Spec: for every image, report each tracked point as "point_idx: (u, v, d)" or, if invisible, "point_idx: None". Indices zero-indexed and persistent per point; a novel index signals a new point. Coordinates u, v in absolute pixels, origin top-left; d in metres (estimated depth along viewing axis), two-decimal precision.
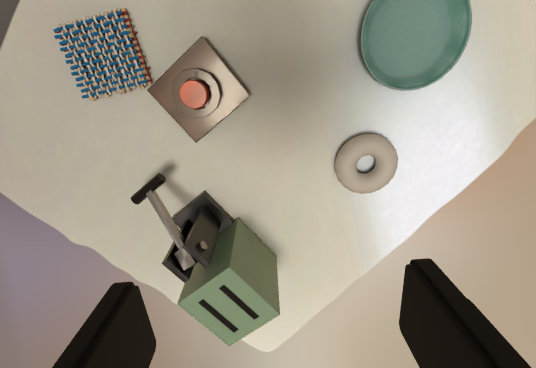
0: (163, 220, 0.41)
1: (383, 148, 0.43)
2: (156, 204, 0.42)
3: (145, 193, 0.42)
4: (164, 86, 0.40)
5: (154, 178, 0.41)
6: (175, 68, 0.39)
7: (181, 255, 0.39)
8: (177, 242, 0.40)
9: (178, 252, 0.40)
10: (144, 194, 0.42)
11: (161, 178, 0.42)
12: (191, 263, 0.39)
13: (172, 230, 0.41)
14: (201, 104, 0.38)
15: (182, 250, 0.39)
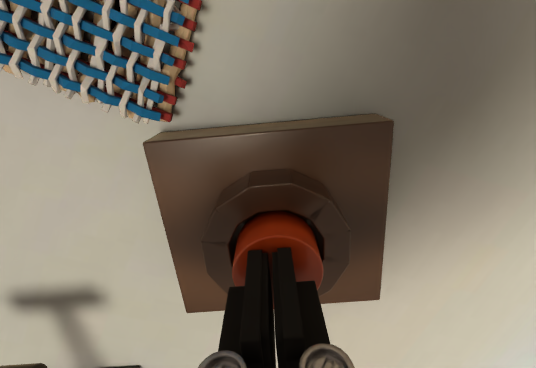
0: None
1: None
2: None
3: None
4: (199, 164, 0.13)
5: None
6: (263, 145, 0.12)
7: None
8: None
9: None
10: None
11: None
12: None
13: None
14: None
15: None
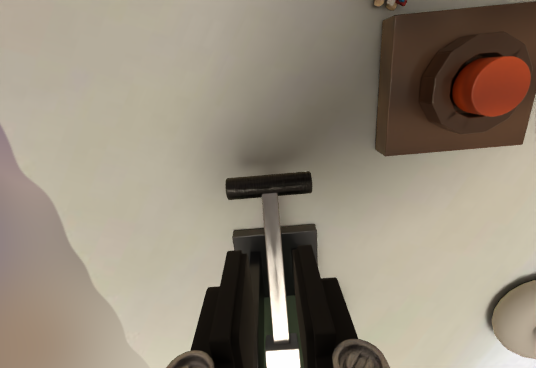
0: (271, 266, 0.19)
1: None
2: (274, 226, 0.19)
3: (262, 192, 0.20)
4: (427, 31, 0.19)
5: (300, 177, 0.19)
6: (472, 17, 0.19)
7: (280, 363, 0.18)
8: (278, 326, 0.19)
9: (277, 354, 0.18)
10: (259, 193, 0.20)
11: (311, 185, 0.20)
12: None
13: (280, 296, 0.19)
14: (495, 113, 0.18)
15: (288, 355, 0.18)
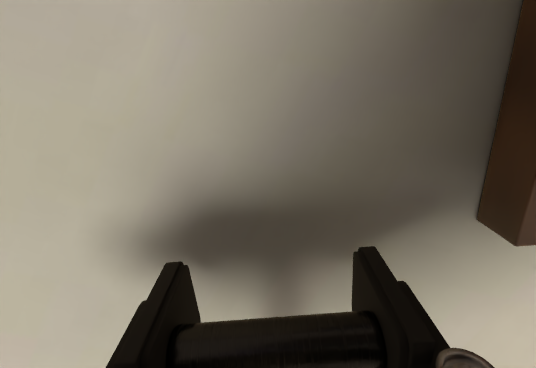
0: None
1: None
2: None
3: None
4: None
5: (356, 340, 0.08)
6: None
7: None
8: None
9: None
10: None
11: None
12: None
13: None
14: None
15: None
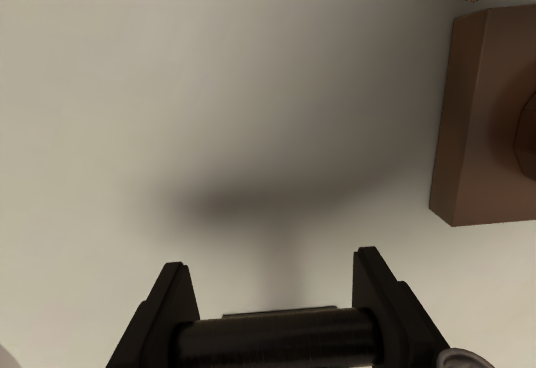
0: None
1: None
2: None
3: None
4: None
5: (355, 345, 0.08)
6: None
7: None
8: None
9: None
10: None
11: None
12: None
13: None
14: None
15: None
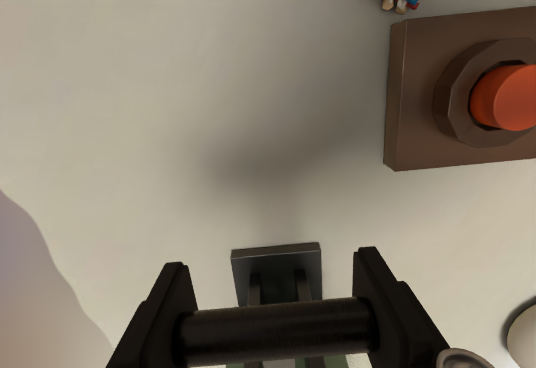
0: None
1: None
2: None
3: None
4: (441, 37, 0.18)
5: (353, 346, 0.08)
6: (491, 21, 0.17)
7: None
8: None
9: None
10: None
11: None
12: None
13: None
14: (519, 127, 0.16)
15: None
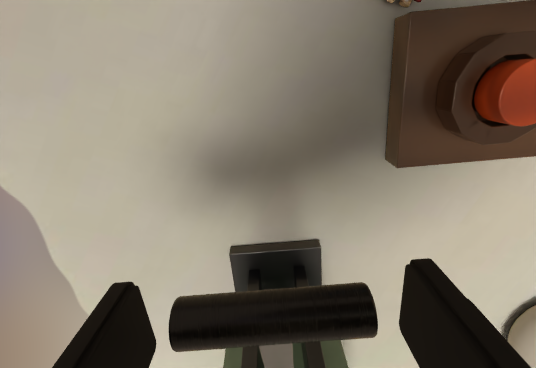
0: None
1: None
2: (283, 364, 0.10)
3: None
4: (446, 30, 0.17)
5: (351, 330, 0.08)
6: (497, 14, 0.17)
7: None
8: None
9: None
10: None
11: None
12: None
13: None
14: (525, 123, 0.16)
15: None
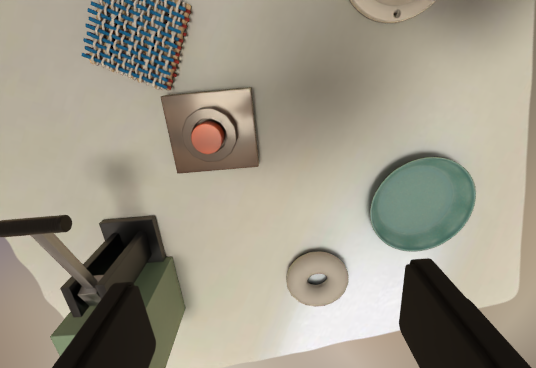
0: (62, 264, 0.29)
1: (340, 278, 0.43)
2: (51, 249, 0.27)
3: (29, 234, 0.26)
4: (181, 105, 0.34)
5: (52, 227, 0.25)
6: (204, 97, 0.34)
7: (88, 298, 0.33)
8: (83, 283, 0.32)
9: (84, 295, 0.32)
10: None
11: (66, 228, 0.26)
12: None
13: (77, 274, 0.31)
14: (208, 152, 0.33)
15: (91, 295, 0.32)
